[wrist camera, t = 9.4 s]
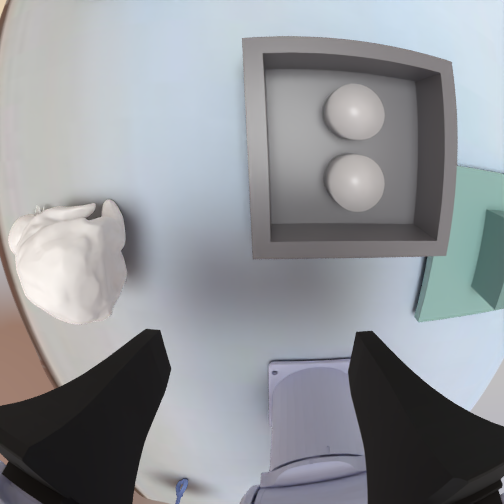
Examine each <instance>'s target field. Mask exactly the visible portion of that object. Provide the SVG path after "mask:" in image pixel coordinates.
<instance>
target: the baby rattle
mask: <svg viewBox="0 0 504 504" xmlns="http://www.w3.org/2000/svg"><path fill="white" fill-rule="evenodd" d="M181 484H183V486H182V488H181V490H180V486H181ZM187 485H188V480H187V479H183V480H182V481H179V482H178V483H177V485H176V495H177V500H176V503H175V504H179V503H180V498H181V497H182V496H183V493H184V491H185V490H186V488H187Z"/></svg>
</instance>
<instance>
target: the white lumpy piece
mask: <svg viewBox="0 0 504 504" xmlns="http://www.w3.org/2000/svg"><path fill="white" fill-rule="evenodd" d="M95 207H96V204H95V203H91V204H87V205H80V206H73V207H64V206H57V207H53V208H50V209H46V210H45V211H44V208H43V212H42V213H41V210H40V208H39V210H38V208H37V205H36V209H37V212H38V213H37V212H36V210H35V213H36V215H32V214H28V215H24V216H22V217H20V218H18V219H17V220H16V221H15V222H14V224H13V226H12V228H11V230H10V233H9V237H8V242H9V247H10V249H11V251H12V252H13V253H14V254H15V255H16V256H15V260H16V269H17V274H18V276H19V279H20V281H21V284H22V288H23V291H24V294H25V295H26V297H27V298H28V299H29V300H30V301H31V302H32V303H33V304H35V305H36V306H38V307H39V308H41V309H42V310H44V311H45V312H47V313H48V314H50V315H52V316H53V317H55V318H57V319H59V320H62V321H64V322H67V323H71V324H75V325H82V324H87V323H90V322H93V321H102V320H105V319H107V318H108V317H110V316H111V315H112V310H113V307H114V305H115V303H116V301H117V300H118V298H119V296H120V294H121V292H122V289H123V286H124V284H125V282H126V277H127V270H126V264H125V260H124V257H123V255H122V252H121V250H122V248H123V247H124V245H125V226H124V219H123V216H122V214H121V212H120V210H119V208H118V206H117V205H116V204H115V202H114V201H112V200H109V199H108V200H106V201H105V202H104V204H103V207H102V217H99V218H96V219H93V220H87V219H86V217H88V216H90V215H91V214H92V213H93V212H94V210H95Z"/></svg>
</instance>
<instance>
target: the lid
mask: <svg viewBox="0 0 504 504" xmlns="http://www.w3.org/2000/svg"><path fill="white" fill-rule="evenodd" d="M499 309H504V174H502V173H497V172H492V171H487V170H481V169H476V168H470V167H463V166H457V174H456V189H455V200H454V209H453V217H452V224H451V231H450V237H449V243H448V249H447V254H446V256H428V257H427V263H426V268H425V273H424V278H423V283H422V287H421V292H420V296H419V300H418V305H417V308H416V312H415V316H414V317H415V318H416V320H417V321H418V322H425V321H433V320H440V319H447V318H454V317H460V316H466V315H472V314H478V313H483V312H489V311H494V310H499Z"/></svg>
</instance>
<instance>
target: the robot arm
mask: <svg viewBox="0 0 504 504" xmlns="http://www.w3.org/2000/svg"><path fill="white" fill-rule="evenodd" d="M273 371H276V372H273ZM170 372H171V366H170V363H169V360H168V356H167V353H166V349H165V346H164V342H163V339H162V335H161V331H160V330H152V329H145V330H144V331H142V332H141V333H139V334H138V335H137V336H135V337H134V338H133V339H131V340H130V341H129V342H128V343H126V344H125V345H124V346H122V347H121V348H120V349H118V350H117V351H116V352H114V353H113V354H112V355H110V356H109V357H108V358H106V359H105V360H103V361H102V362H101V363H99V364H98V365H96V366H95V367H93V368H92V369H90V370H89V371H87V372H86V373H84V374H83V375H81V376H79V377H78V378H76V379H74V380H72V381H70V382H68V383H67V384H65V385H63V386H61V387H58V388H56V389H54V390H51V391H49V392H47V393H45V394H42V395H40V396H37V397H34V398H31V399H28V400H24V401H21V402H17V403H12V404H7V405H2V406H0V453H1V454H2V455H3V456H4V457H5V458H6V459H7V460H8V461H9V462H8V463H7V465H5V464H4V463H3V462H2V461H0V504H132V502H133V493H134V487H135V481H136V476H137V471H138V466H139V462H140V458H141V454H142V450H143V446H144V443H145V440H146V437H147V434H148V432H149V429H150V427H151V424H152V422H153V419H154V417H155V415H156V412H157V410H158V408H159V405H160V403H161V400H162V398H163V396H164V393H165V391H166V387H167V383H168V380H169V376H170ZM268 373H269V425H270V426H271V427H272V436H271V455H270V472H266V473H261V483H260V485H255V486H252V487H251V488H250V489H249V490H248V491H247V493H246V494H245V495H244V496H243V498H242V499H241V501H240V504H504V493H503V494H501V495H500V494H499V491H498V490H499V489H500V488H502V482H501V478H502V477H503V476H504V427H503V426H501V425H498V424H495V423H492V422H490V421H488V420H485V419H483V418H481V417H479V416H477V415H474V414H473V413H471V412H469V411H467V410H465V409H464V408H462V407H460V406H458V405H457V404H455V403H453V402H452V401H450V400H449V399H447V398H446V397H444V396H443V395H442V394H440V393H439V392H437V391H436V390H435V389H433V388H432V387H431V386H429V385H428V384H427V383H426V382H424V381H423V380H422V379H421V378H420V377H419V376H417V375H416V374H415V373H414V372H413V371H412V370H411V369H410V368H409V367H407V366H406V365H405V364H404V363H403V362H402V361H401V360H400V359H399V358H398V357H397V356H396V355H395V354H394V353H393V352H392V351H391V350H390V349H389V348H388V347H387V346H386V345H385V344H384V343H383V342H382V340H381V339H380V338H379V337H378V336H377V335H376V334H375V333H374V332H373V331H363V332H356V336H355V341H354V346H353V351H352V355H351V359H339V360H321V361H284V362H271V363H270V364H269V367H268Z"/></svg>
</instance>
